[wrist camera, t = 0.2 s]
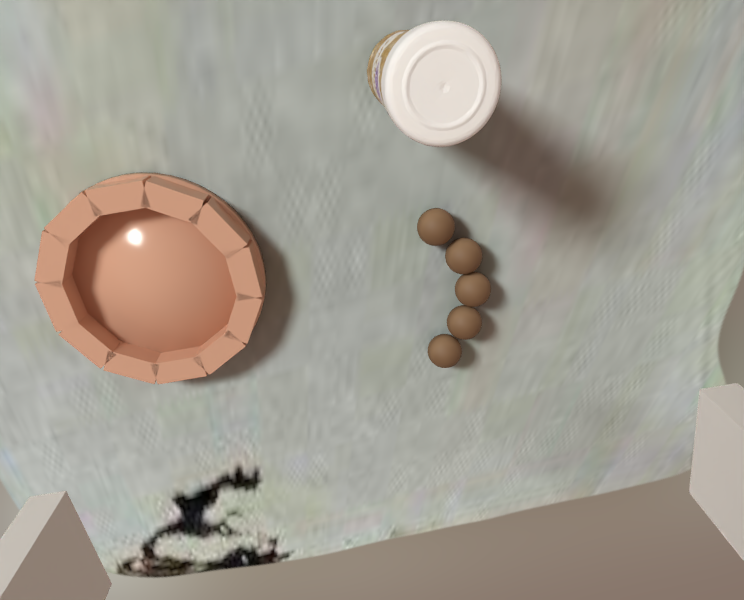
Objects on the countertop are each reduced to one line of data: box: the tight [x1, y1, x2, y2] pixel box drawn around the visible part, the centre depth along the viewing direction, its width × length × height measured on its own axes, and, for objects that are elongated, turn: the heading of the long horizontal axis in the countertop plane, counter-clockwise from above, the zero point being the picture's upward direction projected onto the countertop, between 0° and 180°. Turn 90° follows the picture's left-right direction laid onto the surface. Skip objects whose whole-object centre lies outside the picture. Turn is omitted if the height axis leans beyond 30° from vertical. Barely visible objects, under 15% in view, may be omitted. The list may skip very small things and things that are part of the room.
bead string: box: [417, 208, 491, 368], centre depth 38 cm, size 12×5×2 cm, turn 9°
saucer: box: [34, 172, 266, 384], centre depth 37 cm, size 14×14×2 cm
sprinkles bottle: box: [367, 21, 501, 147], centre depth 27 cm, size 5×5×13 cm
